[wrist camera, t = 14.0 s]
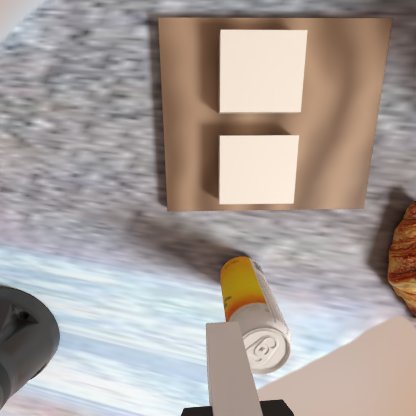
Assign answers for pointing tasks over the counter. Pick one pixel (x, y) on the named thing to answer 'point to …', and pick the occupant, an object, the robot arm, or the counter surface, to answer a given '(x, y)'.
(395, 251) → the croissant
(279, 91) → the tile
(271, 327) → the beer can
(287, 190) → the tile
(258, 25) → the board
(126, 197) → the counter surface
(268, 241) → the counter surface
